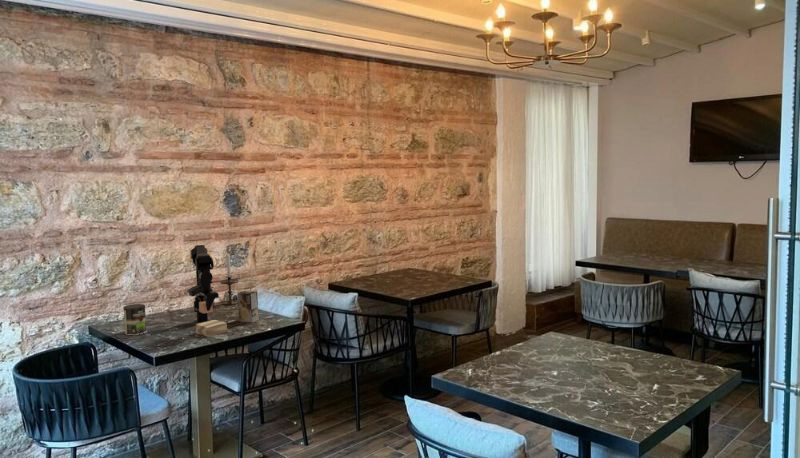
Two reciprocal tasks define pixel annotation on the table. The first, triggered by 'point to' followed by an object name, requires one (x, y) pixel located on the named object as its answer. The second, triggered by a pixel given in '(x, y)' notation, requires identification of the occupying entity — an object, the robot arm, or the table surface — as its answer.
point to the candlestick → (229, 283)
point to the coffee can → (135, 319)
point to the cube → (204, 307)
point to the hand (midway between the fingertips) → (206, 309)
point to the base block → (211, 328)
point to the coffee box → (248, 306)
